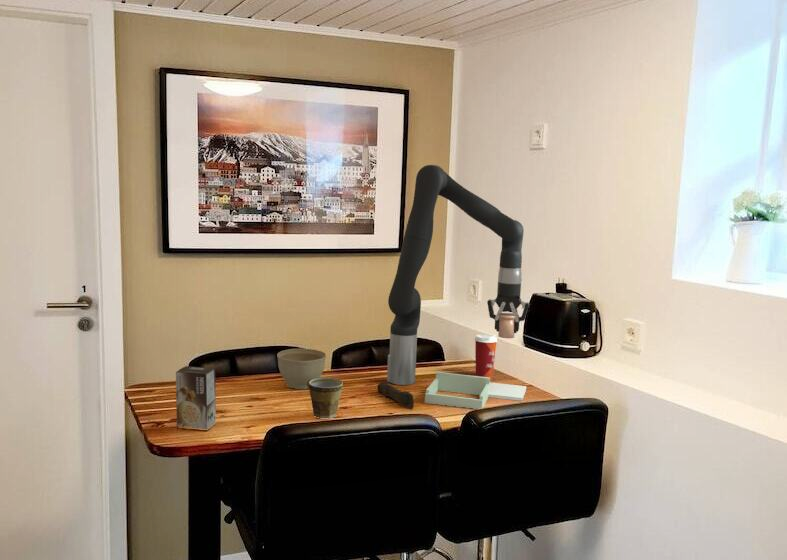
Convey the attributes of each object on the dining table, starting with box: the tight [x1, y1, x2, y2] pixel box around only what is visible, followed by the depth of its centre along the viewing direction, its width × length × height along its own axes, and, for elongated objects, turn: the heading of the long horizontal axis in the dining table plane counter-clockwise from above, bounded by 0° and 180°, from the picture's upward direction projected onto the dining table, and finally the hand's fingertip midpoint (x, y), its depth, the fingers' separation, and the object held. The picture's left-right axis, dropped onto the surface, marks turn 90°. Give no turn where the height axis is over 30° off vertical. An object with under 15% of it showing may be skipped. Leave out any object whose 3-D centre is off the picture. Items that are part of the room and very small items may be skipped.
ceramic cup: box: [307, 377, 344, 419], centre depth 201 cm, size 13×10×10 cm
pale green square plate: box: [478, 381, 527, 402], centre depth 229 cm, size 14×14×1 cm
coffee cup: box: [474, 333, 498, 380], centre depth 247 cm, size 8×8×15 cm
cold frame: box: [424, 371, 491, 410], centre depth 220 cm, size 18×16×6 cm
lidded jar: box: [497, 312, 515, 339], centre depth 226 cm, size 6×6×8 cm
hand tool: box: [376, 381, 415, 410], centre depth 216 cm, size 19×4×5 cm, turn 29°
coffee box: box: [175, 365, 217, 429], centre depth 187 cm, size 9×6×16 cm
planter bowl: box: [276, 348, 327, 390], centre depth 228 cm, size 16×16×11 cm
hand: (506, 331), depth 227 cm, fingers closed on lidded jar, 5 cm apart
